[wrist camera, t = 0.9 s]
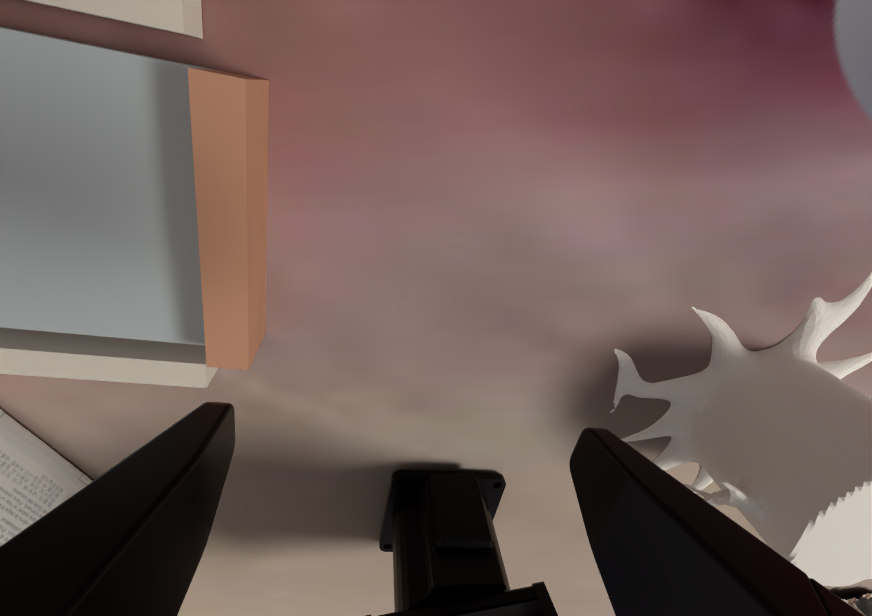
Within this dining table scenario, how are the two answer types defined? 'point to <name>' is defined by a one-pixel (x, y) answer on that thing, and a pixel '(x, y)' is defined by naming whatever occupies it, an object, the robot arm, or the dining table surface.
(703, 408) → the tree stump
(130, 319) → the orange and grey box
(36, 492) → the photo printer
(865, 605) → the plant with pod
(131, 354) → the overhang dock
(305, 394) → the dining table surface
